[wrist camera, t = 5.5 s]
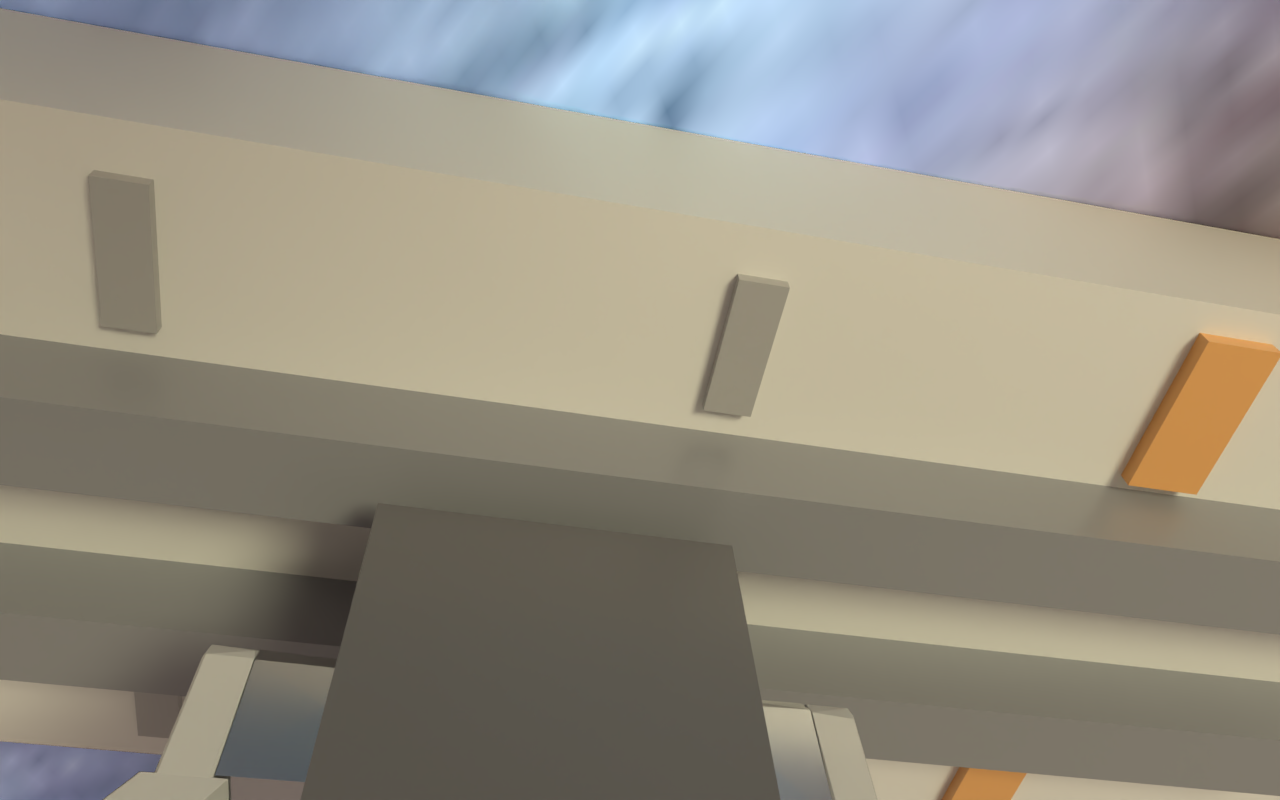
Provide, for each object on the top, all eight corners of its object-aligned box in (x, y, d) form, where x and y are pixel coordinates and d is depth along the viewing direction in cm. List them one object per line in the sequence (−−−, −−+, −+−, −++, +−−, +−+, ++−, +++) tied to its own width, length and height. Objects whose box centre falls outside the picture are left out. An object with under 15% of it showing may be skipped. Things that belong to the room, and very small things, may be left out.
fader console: (-84, 583, 18) (-250, 795, 14) (-226, -33, 12) (-550, 59, 9) (1187, 713, 21) (1308, 910, 18) (1493, 277, 16) (1753, 432, 12)
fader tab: (379, 631, 14) (288, 1050, 10) (399, 421, 13) (295, 817, 8) (659, 659, 15) (694, 1068, 10) (715, 463, 13) (790, 855, 9)
